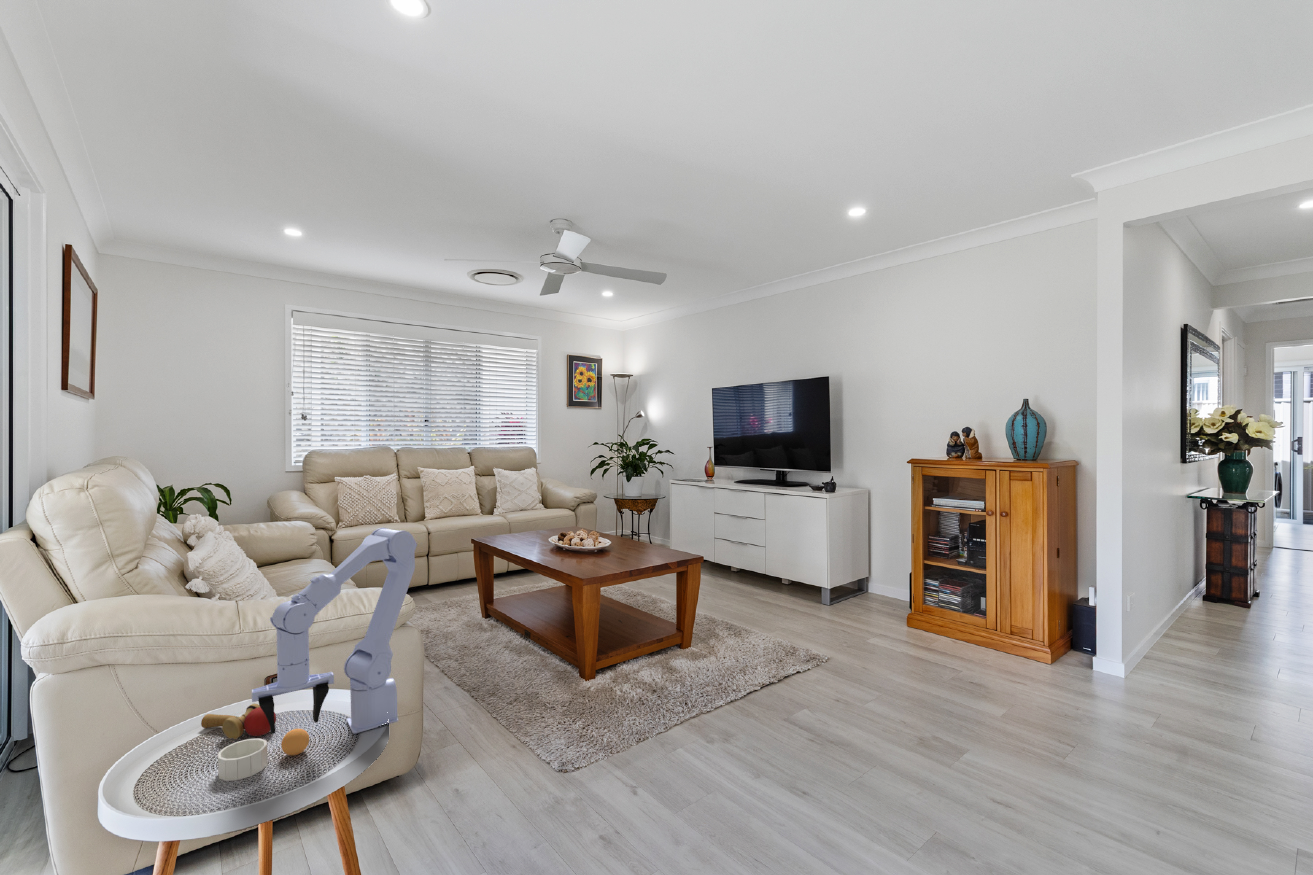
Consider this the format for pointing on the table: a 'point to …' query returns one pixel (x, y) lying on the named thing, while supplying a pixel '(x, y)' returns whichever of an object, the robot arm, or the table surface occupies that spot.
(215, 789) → the table surface
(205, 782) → the table surface
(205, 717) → the kendama
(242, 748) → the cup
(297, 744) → the ball
